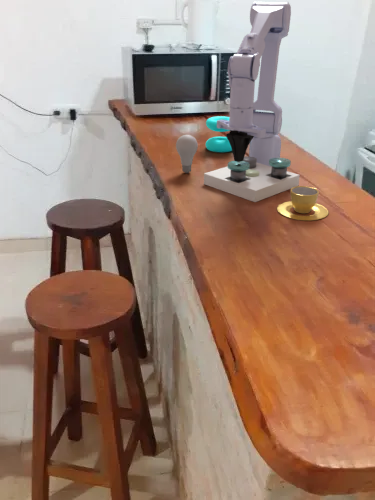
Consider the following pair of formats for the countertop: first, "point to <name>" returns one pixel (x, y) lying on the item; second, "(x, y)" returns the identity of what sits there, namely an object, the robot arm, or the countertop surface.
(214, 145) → the donuts
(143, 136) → the countertop surface
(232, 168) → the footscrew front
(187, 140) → the lightbulb
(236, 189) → the instrument base
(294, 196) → the cup
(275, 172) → the disc
